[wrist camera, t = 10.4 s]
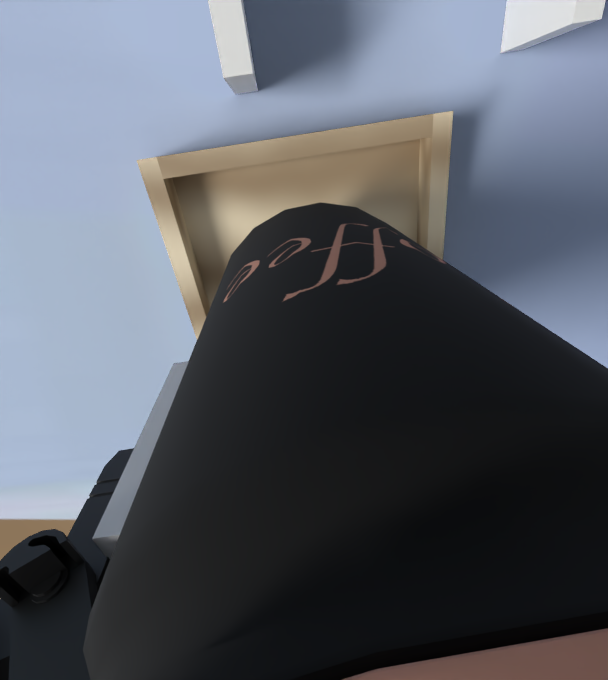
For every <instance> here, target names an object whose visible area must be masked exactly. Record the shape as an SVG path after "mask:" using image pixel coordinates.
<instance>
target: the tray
mask: <svg viewBox="0 0 608 680" xmlns="http://www.w3.org/2000/svg"><path fill="white" fill-rule="evenodd" d="M452 120H453V111H448V112H442V113H436V114H429V115H423V116H416V117H410V118H404V119H397V120H391V121H384V122H378V123H372V124H365V125H359V126H352V127H346V128H340V129H333V130H327V131H320V132H314V133H308V134H301V135H295V136H288V137H282V138H276V139H269V140H263V141H256V142H250V143H244V144H237V145H231V146H224V147H218V148H212V149H205V150H199V151H192V152H186V153H180V154H173V155H167V156H160V157H154V158H148V159H141V160H137V163H138V166H139V169H140V172H141V175H142V178H143V181H144V184H145V187H146V190H147V193H148V196H149V198H150V201H151V204H152V207H153V210H154V213H155V216H156V219H157V222H158V225H159V228H160V231H161V234H162V237H163V240H164V243H165V246H166V249H167V252H168V255H169V258H170V261H171V264H172V267H173V270H174V273H175V276H176V279H177V282H178V285H179V288H180V291H181V293H182V296H183V299H184V302H185V305H186V308H187V311H188V314H189V317H190V320H191V323H192V326H193V329H194V332H195V335H196V338H197V340H198V337H199V334H200V332H201V329H202V327H203V324H204V322H205V319H206V317H207V314H208V312H209V309H210V307H211V304H212V302H213V299H214V297H215V294H216V292H217V289H218V287H219V284H220V282H221V279H222V277H223V274H224V272H225V269H226V267H227V264H228V262H229V259H230V257H231V254H232V253H233V252H234V251H235V250H236V248H237V247H238V246H239V245H240V244H241V242H242V241H243V240H244V239H245V238H246V237H247V235H248V234H249V233H250V232H251V231H252V230H253V228H255V227H256V226H258V225H260V224H261V223H263V222H265V221H267V220H268V219H270V218H272V217H273V216H275V215H277V214H278V213H280V212H282V211H284V210H286V209H291V208H295V207H300V206H305V205H310V204H315V203H320V202H322V203H330V204H337V205H344V206H352V207H357V208H359V209H361V210H363V211H365V212H367V213H368V214H370V215H372V216H374V217H376V218H378V219H380V220H382V221H384V222H386V223H387V224H389V225H390V226H392V227H393V228H395V229H396V230H398V231H399V232H401V233H402V234H404V235H405V236H407V237H408V238H410V239H412V240H413V241H415V242H416V243H418V244H419V245H421V246H422V247H424V248H425V249H427V250H428V251H430V252H431V253H433V254H434V255H436V256H437V257H439V258H440V259H442V260H443V250H444V236H445V222H446V207H447V193H448V178H449V164H450V149H451V135H452Z"/></svg>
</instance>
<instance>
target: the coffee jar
mask: <svg viewBox="0 0 608 680" xmlns="http://www.w3.org/2000/svg"><path fill="white" fill-rule="evenodd" d="M83 653H84V656H85V660H86V664H87V668H88V672H89V676H90V679H91V680H608V368H606V367H604V366H603V365H601V364H600V363H598V362H597V361H595V360H594V359H592V358H591V357H589V356H588V355H586V354H585V353H583V352H582V351H580V350H579V349H577V348H576V347H574V346H573V345H571V344H570V343H568V342H567V341H565V340H563V339H562V338H560V337H559V336H557V335H556V334H554V333H553V332H551V331H550V330H548V329H547V328H545V327H544V326H542V325H541V324H539V323H538V322H536V321H535V320H533V319H532V318H530V317H529V316H527V315H525V314H524V313H522V312H521V311H519V310H518V309H516V308H515V307H513V306H512V305H510V304H509V303H507V302H506V301H504V300H503V299H501V298H500V297H498V296H497V295H495V294H494V293H492V292H491V291H489V290H487V289H486V288H484V287H483V286H481V285H480V284H478V283H477V282H475V281H474V280H472V279H471V278H469V277H468V276H466V275H465V274H463V273H462V272H460V271H459V270H457V269H456V268H454V267H453V266H451V265H450V264H448V263H446V262H445V261H443V260H442V259H440V258H439V257H437V256H436V255H434V254H433V253H431V252H430V251H428V250H427V249H425V248H424V247H422V246H421V245H419V244H418V243H416V242H415V241H413V240H412V239H410V238H408V237H407V236H405V235H404V234H402V233H401V232H399V231H398V230H396V229H395V228H393V227H392V226H390V225H389V224H387V223H386V222H384V221H382V220H380V219H378V218H376V217H374V216H372V215H370V214H368V213H367V212H365V211H363V210H361V209H359V208H357V207H352V206H344V205H337V204H330V203H322V202H320V203H315V204H310V205H305V206H300V207H295V208H291V209H286V210H284V211H282V212H280V213H278V214H277V215H275V216H273V217H272V218H270V219H268V220H267V221H265V222H263V223H261V224H260V225H258V226H256V227H255V228H253V230H252V231H251V232H250V233H249V234H248V235H247V237H246V238H245V239H244V240H243V241H242V242H241V244H240V245H239V246H238V247H237V248H236V250H235V251H234V252H233V253H232V254H231V257H230V259H229V262H228V264H227V267H226V269H225V272H224V274H223V277H222V279H221V282H220V284H219V287H218V289H217V292H216V294H215V297H214V299H213V302H212V304H211V307H210V309H209V312H208V314H207V317H206V319H205V322H204V324H203V327H202V329H201V332H200V334H199V337H198V340H197V342H196V345H195V347H194V350H193V352H192V355H191V357H190V360H189V362H188V365H187V367H186V370H185V372H184V375H183V377H182V380H181V382H180V385H179V387H178V390H177V392H176V395H175V397H174V400H173V402H172V405H171V407H170V410H169V412H168V415H167V417H166V420H165V422H164V425H163V427H162V430H161V432H160V435H159V437H158V440H157V442H156V445H155V448H154V450H153V453H152V455H151V458H150V460H149V463H148V465H147V468H146V470H145V473H144V475H143V478H142V480H141V483H140V485H139V488H138V490H137V493H136V495H135V498H134V500H133V503H132V505H131V508H130V510H129V513H128V515H127V518H126V520H125V523H124V525H123V528H122V530H121V533H120V535H119V538H118V540H117V543H116V545H115V548H114V550H113V553H112V556H111V558H110V561H109V564H108V567H107V569H106V572H105V575H104V577H103V580H102V583H101V585H100V588H99V591H98V593H97V596H96V599H95V602H94V604H93V607H92V610H91V612H90V615H89V620H88V625H87V631H86V636H85V641H84V646H83Z"/></svg>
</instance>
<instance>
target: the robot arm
mask: <svg viewBox="0 0 608 680" xmlns="http://www.w3.org/2000/svg"><path fill="white" fill-rule="evenodd" d="M188 362H189V361H187V362H181V363H174V364H173V366H172V368H171V370H170V372H169V375H168V377H167V379H166V381H165V383H164V385H163V387H162V390H161V392H160V394H159V396H158V398H157V400H156V402H155V405H154V407H153V409H152V411H151V413H150V415H149V418H148V420H147V422H146V424H145V426H144V428H143V430H142V433H141V435H140V437H139V439H138V441H137V443H136V445H135V448H134V449H127V450H121V451H119V452H118V453H117V454H116V455H115V456H114V457H113V458H112V459H111V460H110V461H109V462H108V463H107V464H106V465H105V467H104V469H103V471H102V472H101V474H100V476H99V478H98V480H97V485H95V486H94V488H93V489H92V491H91V493H90V495H89V496H90V498H89V499H87V501H86V503H85V504H84V506H83V508H82V510H81V512H80V514H79V516H78V518H77V520H76V521H75V523H74V525H73V527H72V529H71V531H70V533H69V535H68V536H67V537H66V535H65V534H64V533H63V532H61V531H58V530H56V529H52V530H44V531H41V532H38V533H36V534H34V535H32V536H29V537H28V538H26V539H25V540H23V541H22V542H21V543H19V544H17V545H16V546H15V547H13V548H12V549H11V550H10V551H9V553H7V554H6V555H5V556H4V557H3V558H2V559H1V561H0V598H1V599H0V680H91V679H90V676H89V672H88V668H87V664H86V660H85V656H84V653H83V646H84V641H85V636H86V631H87V625H88V620H89V615H90V612H91V610H92V607H93V604H94V602H95V599H96V596H97V593H98V591H99V588H100V585H101V583H102V580H103V577H104V575H105V572H106V569H107V567H108V564H109V561H110V558H111V556H112V553H113V550H114V548H115V545H116V543H117V540H118V538H119V535H120V533H121V530H122V528H123V525H124V523H125V520H126V518H127V515H128V513H129V510H130V508H131V505H132V503H133V500H134V498H135V495H136V493H137V490H138V488H139V485H140V483H141V480H142V478H143V475H144V473H145V470H146V468H147V465H148V463H149V460H150V458H151V455H152V453H153V450H154V448H155V445H156V442H157V440H158V437H159V435H160V432H161V430H162V427H163V425H164V422H165V420H166V417H167V415H168V412H169V410H170V407H171V405H172V402H173V400H174V397H175V395H176V392H177V390H178V387H179V385H180V382H181V380H182V377H183V375H184V372H185V370H186V367H187V365H188Z"/></svg>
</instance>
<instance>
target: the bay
mask: <svg viewBox="0 0 608 680" xmlns="http://www.w3.org/2000/svg"><path fill="white" fill-rule="evenodd" d="M605 1H606V0H507V2H506V10H505V19H504V27H503V36H502V44H501V53H505V52H512V51H518V50H524V49H526V48H529V47H531V46H534V45H536V44H539V43H541V42H544V41H547V40H549V39H552V38H554V37H557V36H559V35H562V34H564V33H567V32H570V31H572V30H575V29H577V28H580V27H582V26H585V25H587V24H590V23H593V22H595V21H598V20H600V19H602V14H603V10H604V5H605ZM208 3H209V8H210V13H211V18H212V23H213V28H214V33H215V38H216V43H217V48H218V53H219V57H220V62H221V67H222V72H223V77H224V79H225V81H226V82H227V83H228V85H229V86H230V88H231V89H232V90H233V92H234V93H235V94H243V93H249V92H256V91H258V88H257V82H256V76H255V70H254V64H253V58H252V52H251V46H250V40H249V33H248V27H247V21H246V15H245V9H244V3H243V0H208Z"/></svg>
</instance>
